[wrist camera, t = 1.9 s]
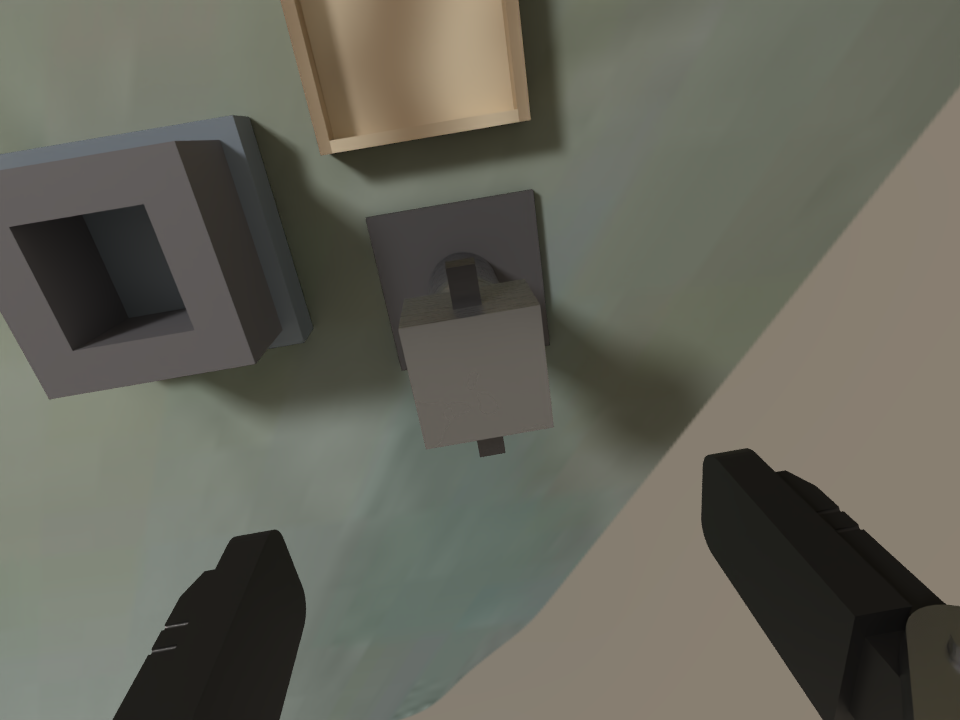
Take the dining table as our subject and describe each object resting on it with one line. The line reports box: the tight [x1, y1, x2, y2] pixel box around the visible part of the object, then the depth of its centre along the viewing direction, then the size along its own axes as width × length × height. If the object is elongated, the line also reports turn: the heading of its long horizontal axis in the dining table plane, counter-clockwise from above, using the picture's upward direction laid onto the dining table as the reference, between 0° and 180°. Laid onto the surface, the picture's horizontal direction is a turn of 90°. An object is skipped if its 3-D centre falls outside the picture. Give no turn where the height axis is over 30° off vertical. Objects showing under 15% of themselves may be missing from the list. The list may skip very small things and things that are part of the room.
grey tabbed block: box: [398, 252, 554, 457], centre depth 21 cm, size 4×7×11 cm, turn 9°
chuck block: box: [0, 115, 313, 399], centre depth 22 cm, size 15×10×6 cm, turn 99°
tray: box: [281, 0, 531, 155], centre depth 21 cm, size 9×9×2 cm
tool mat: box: [366, 189, 550, 371], centre depth 26 cm, size 8×8×1 cm
